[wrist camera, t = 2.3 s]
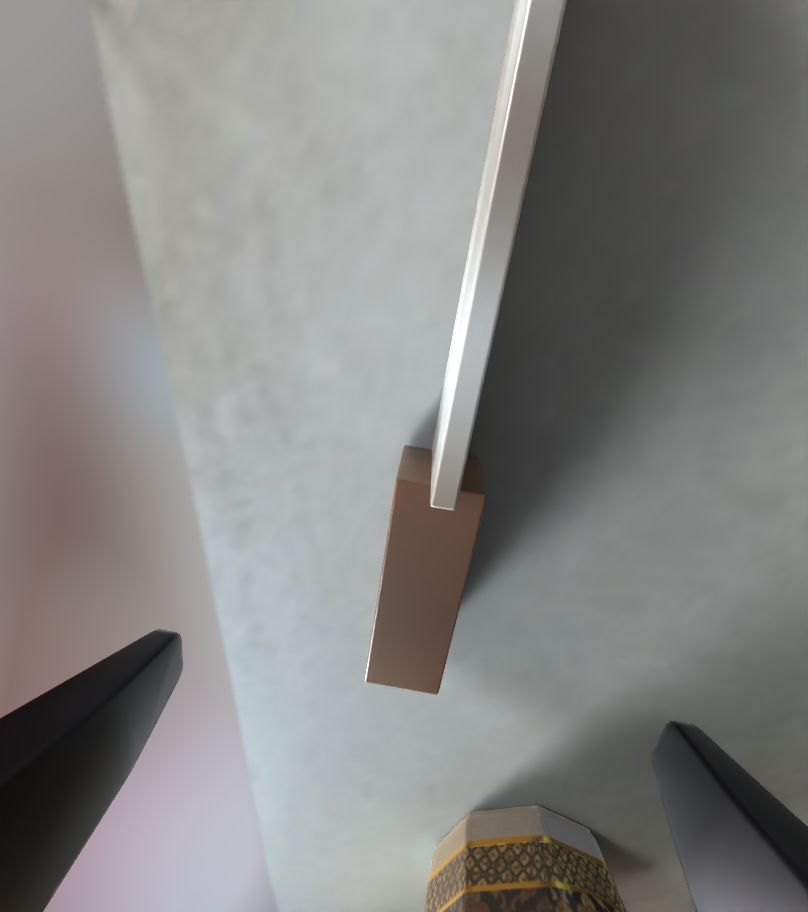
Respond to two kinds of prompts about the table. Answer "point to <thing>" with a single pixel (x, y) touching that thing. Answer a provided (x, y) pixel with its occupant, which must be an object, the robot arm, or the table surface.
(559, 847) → the ceramic cup
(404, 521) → the knife
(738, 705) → the table surface
